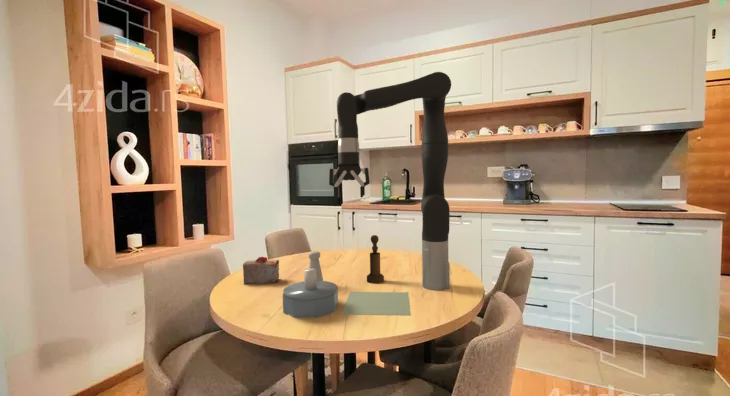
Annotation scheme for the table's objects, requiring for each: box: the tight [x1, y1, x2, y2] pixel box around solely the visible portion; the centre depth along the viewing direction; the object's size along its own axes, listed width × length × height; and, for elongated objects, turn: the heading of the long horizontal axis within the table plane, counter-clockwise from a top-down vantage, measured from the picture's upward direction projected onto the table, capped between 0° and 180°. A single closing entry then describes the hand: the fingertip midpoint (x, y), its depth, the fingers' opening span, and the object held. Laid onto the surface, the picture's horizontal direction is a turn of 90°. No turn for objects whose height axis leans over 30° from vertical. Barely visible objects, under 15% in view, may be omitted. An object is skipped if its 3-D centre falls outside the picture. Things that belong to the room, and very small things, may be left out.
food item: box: [242, 256, 280, 285], centre depth 136 cm, size 14×8×10 cm, turn 94°
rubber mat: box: [340, 291, 411, 317], centre depth 109 cm, size 20×20×1 cm
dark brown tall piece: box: [366, 234, 385, 285], centre depth 132 cm, size 7×6×18 cm
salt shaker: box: [308, 250, 324, 281], centre depth 128 cm, size 6×6×13 cm
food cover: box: [282, 267, 339, 319], centre depth 106 cm, size 16×16×12 cm
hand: (349, 197), depth 123 cm, fingers open, 8 cm apart
